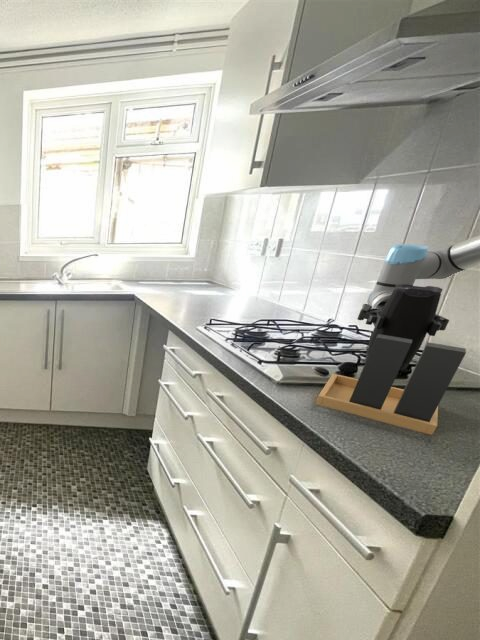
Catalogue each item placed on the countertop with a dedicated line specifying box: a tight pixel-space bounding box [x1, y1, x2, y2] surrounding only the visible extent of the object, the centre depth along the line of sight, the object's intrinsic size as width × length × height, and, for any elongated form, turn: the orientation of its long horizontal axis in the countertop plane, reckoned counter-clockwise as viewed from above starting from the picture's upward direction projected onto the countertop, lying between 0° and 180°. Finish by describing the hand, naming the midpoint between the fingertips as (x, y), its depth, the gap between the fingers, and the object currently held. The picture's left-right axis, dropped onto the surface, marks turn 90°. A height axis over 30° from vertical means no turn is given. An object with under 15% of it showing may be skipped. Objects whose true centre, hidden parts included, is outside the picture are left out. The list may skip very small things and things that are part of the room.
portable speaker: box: [364, 284, 444, 371], centre depth 100 cm, size 9×9×20 cm
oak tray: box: [315, 373, 439, 436], centre depth 90 cm, size 18×18×3 cm
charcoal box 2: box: [393, 341, 467, 422], centre depth 80 cm, size 5×3×16 cm, turn 43°
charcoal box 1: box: [349, 334, 412, 410], centre depth 85 cm, size 5×3×16 cm, turn 43°
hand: (406, 326), depth 97 cm, fingers closed on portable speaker, 8 cm apart
